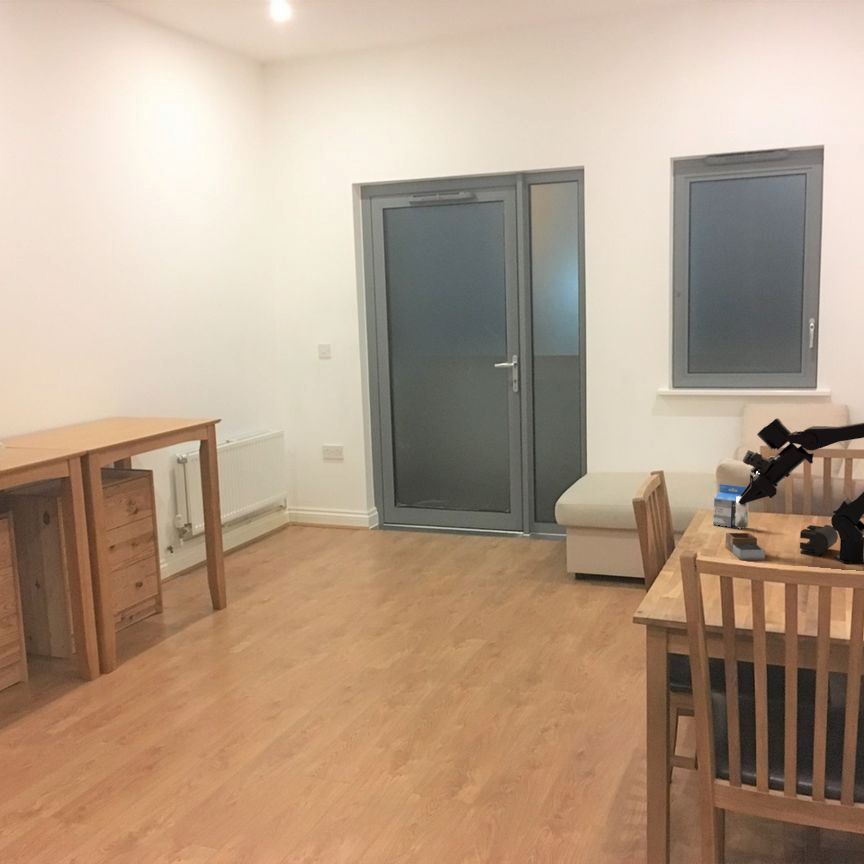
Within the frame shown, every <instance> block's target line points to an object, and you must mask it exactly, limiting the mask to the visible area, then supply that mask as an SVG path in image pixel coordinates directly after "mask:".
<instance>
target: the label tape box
mask: <svg viewBox="0 0 864 864" xmlns="http://www.w3.org/2000/svg"><path fill="white" fill-rule="evenodd" d="M746 487H747V486H739V485H731V484H723V483H719V488H718V489H719V492H717V494H716V495H715V497H714V498H713V517H712V524H715V525H714V526H718V525H720V526H719V527H725V526H727V528H731V527H733V528H732V529H738V528H739V530H741V528H742V529H744V528H743V527H737V526H735V520H736V496H740V495H741V494H742V492H743V491H744V490H745V488H746ZM732 489H733V490H732ZM734 490H735V491H734ZM736 490H737V491H736Z"/></svg>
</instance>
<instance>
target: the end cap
mask: <svg viewBox="0 0 864 864" xmlns="http://www.w3.org/2000/svg"><path fill="white" fill-rule="evenodd" d="M799 537H800V539H806V540H809V541H807V542H799V549H800V551H799V552H800V553H799V554H801V555H807V556H808V555H809V556H815V557H817V556H820V555H822V554H823V553H825V552H826V551H827V550H829V549H830V548H831V547H832V546H834V545H835V544H836V543H837V541H838V538H839V534H838V531H836V530H835V529H834V528H833V526H832V525H829V524H825V525H824V526H819V525H811V524H809V526H807V527H806V528H803V529H802V530H801V531H800V535H799Z"/></svg>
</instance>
